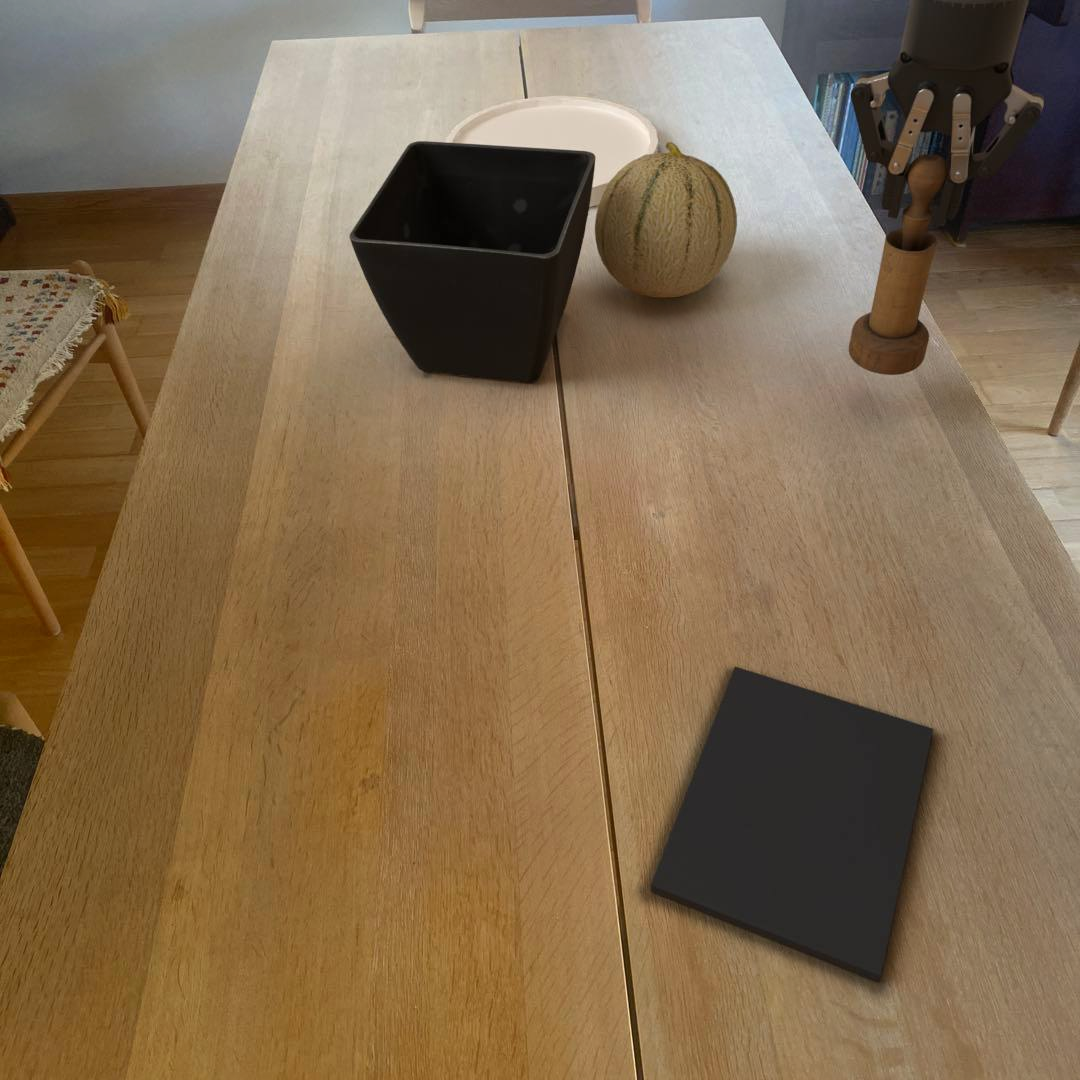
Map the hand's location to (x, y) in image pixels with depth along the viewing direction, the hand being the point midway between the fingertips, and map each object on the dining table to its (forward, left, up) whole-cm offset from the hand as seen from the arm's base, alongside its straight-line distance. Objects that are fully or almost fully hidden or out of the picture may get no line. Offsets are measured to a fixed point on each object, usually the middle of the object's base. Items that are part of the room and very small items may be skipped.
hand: (917, 216), depth 79 cm
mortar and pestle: (0, 0, -13) cm, 13 cm away
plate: (+49, -37, -20) cm, 65 cm away
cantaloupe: (+25, -13, -20) cm, 34 cm away
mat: (-4, +43, -20) cm, 47 cm away
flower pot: (+38, +3, -20) cm, 43 cm away
